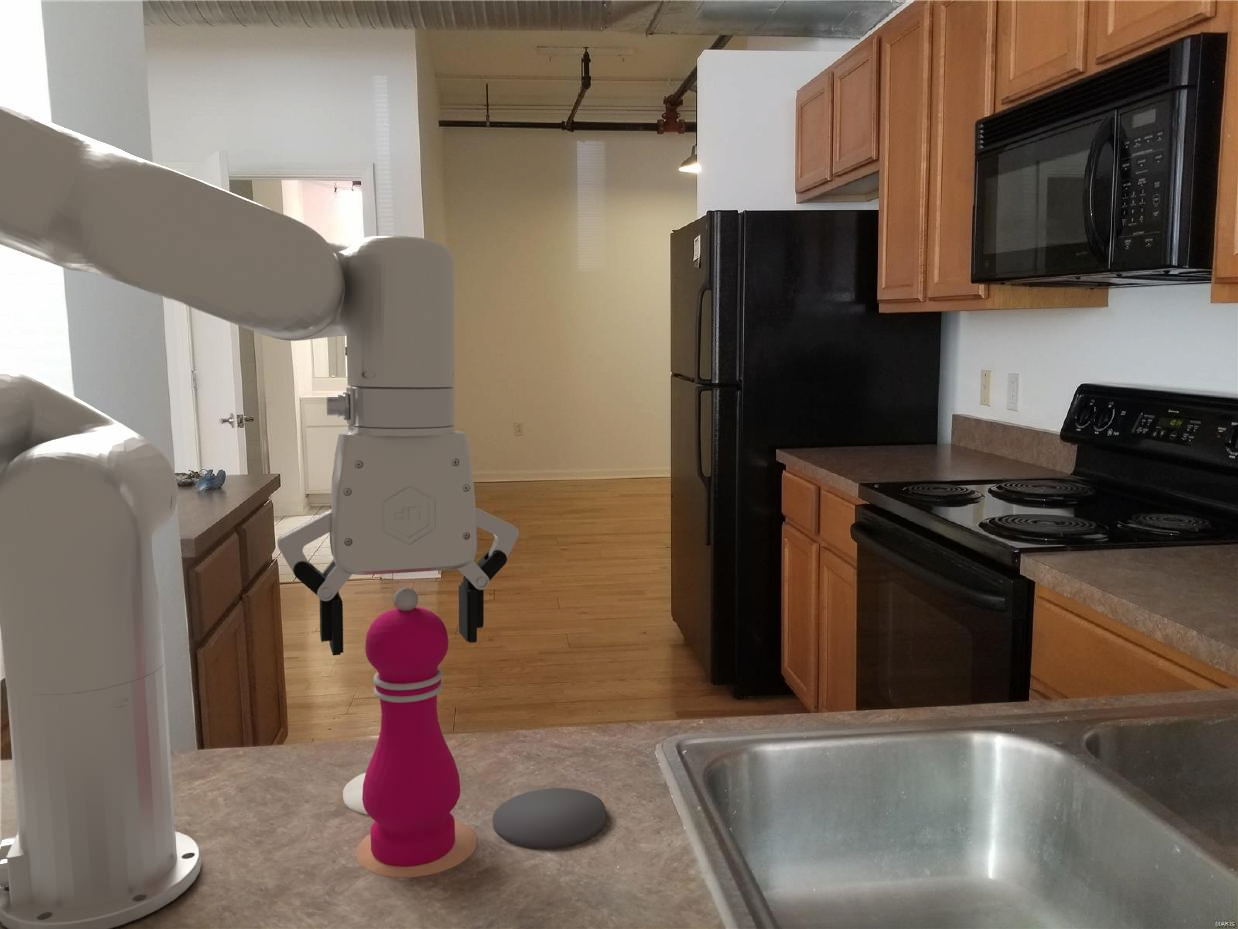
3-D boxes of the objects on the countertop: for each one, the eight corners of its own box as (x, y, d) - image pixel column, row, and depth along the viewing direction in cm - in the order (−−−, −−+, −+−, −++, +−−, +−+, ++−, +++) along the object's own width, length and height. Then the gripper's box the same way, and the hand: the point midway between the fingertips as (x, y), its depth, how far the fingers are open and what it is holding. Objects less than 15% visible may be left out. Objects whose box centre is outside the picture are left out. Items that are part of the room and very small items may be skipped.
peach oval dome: (364, 898, 67) (363, 887, 67) (350, 839, 75) (350, 829, 75) (490, 872, 70) (490, 861, 70) (463, 818, 79) (463, 808, 79)
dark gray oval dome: (626, 828, 75) (625, 818, 75) (520, 861, 71) (519, 851, 70) (575, 788, 83) (574, 779, 83) (476, 816, 78) (476, 806, 78)
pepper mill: (345, 863, 70) (334, 596, 68) (395, 817, 77) (387, 574, 75) (433, 878, 68) (425, 603, 66) (477, 829, 75) (471, 580, 73)
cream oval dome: (348, 828, 76) (348, 819, 76) (338, 782, 85) (338, 774, 85) (460, 808, 80) (460, 799, 79) (440, 766, 88) (440, 758, 88)
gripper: (276, 416, 63) (282, 671, 64) (531, 415, 69) (530, 647, 71) (272, 410, 69) (277, 640, 71) (505, 410, 76) (504, 621, 78)
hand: (403, 643), depth 71 cm, fingers open, 9 cm apart
